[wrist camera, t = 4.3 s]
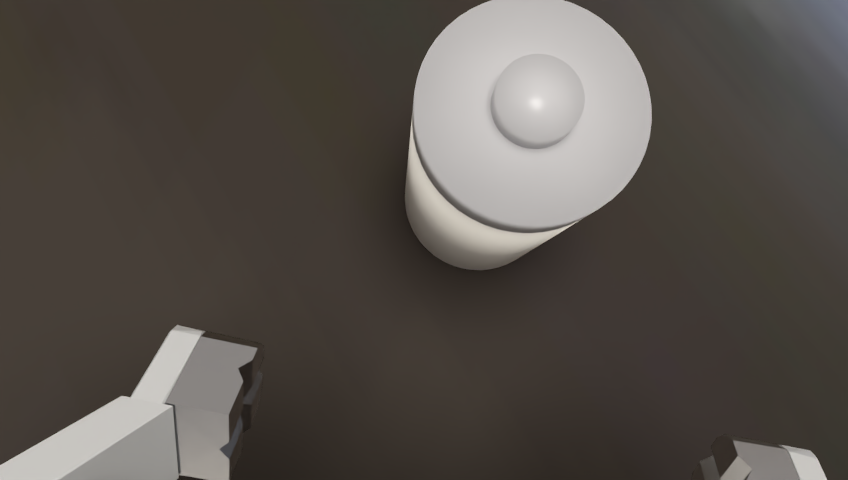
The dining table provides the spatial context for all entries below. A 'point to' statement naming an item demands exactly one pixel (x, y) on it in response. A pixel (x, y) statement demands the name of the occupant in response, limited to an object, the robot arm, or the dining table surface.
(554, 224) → the lidded jar
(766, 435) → the dining table surface
